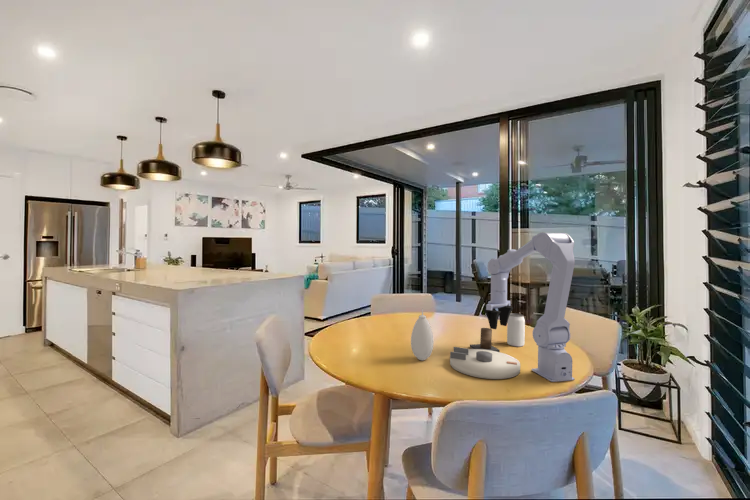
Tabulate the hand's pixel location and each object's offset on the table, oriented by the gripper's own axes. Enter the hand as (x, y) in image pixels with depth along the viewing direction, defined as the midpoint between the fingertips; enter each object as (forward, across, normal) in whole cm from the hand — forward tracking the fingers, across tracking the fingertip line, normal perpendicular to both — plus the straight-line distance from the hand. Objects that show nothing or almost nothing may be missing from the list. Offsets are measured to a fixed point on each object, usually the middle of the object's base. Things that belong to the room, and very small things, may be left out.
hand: (498, 327), depth 128 cm
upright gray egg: (+9, +28, -13) cm, 33 cm away
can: (+9, -14, 0) cm, 17 cm away
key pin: (+8, +2, -4) cm, 9 cm away
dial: (+9, +18, +5) cm, 21 cm away
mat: (+9, +2, -5) cm, 10 cm away
